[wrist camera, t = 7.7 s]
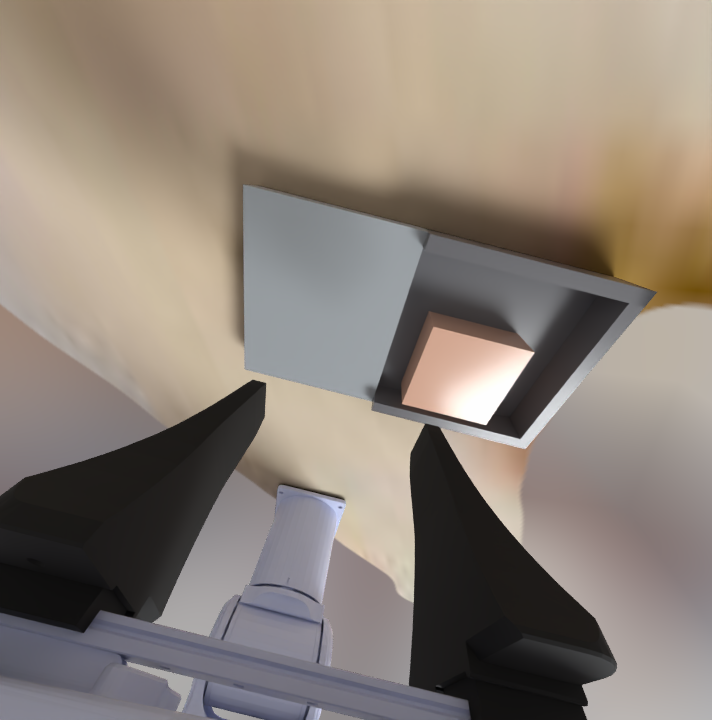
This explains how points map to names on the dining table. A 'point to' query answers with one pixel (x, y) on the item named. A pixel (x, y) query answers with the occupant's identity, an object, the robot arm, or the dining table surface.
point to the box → (511, 328)
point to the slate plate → (323, 289)
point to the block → (463, 368)
